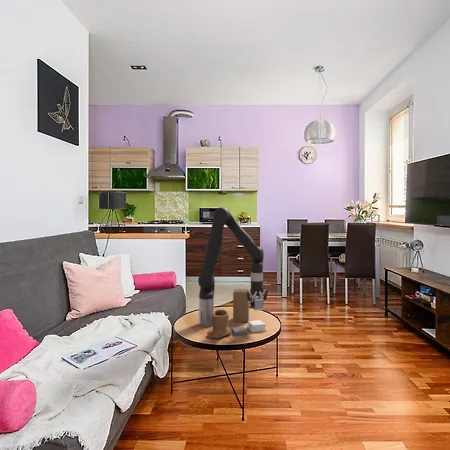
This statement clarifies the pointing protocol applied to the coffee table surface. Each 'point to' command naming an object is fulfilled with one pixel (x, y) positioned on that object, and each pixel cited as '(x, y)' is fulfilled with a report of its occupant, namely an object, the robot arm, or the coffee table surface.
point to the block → (240, 305)
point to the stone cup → (219, 324)
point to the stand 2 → (256, 326)
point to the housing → (258, 303)
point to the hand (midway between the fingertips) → (256, 307)
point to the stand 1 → (239, 331)
